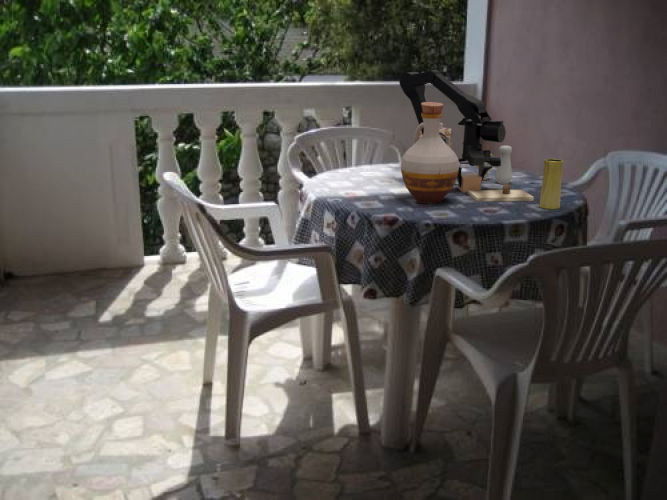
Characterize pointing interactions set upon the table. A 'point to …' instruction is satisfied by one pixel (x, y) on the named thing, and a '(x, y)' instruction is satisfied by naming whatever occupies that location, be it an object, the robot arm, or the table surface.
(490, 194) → the base board
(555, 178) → the vase
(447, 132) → the decorative jar
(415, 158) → the jug
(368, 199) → the table surface
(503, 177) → the salt shaker
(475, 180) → the orange block
